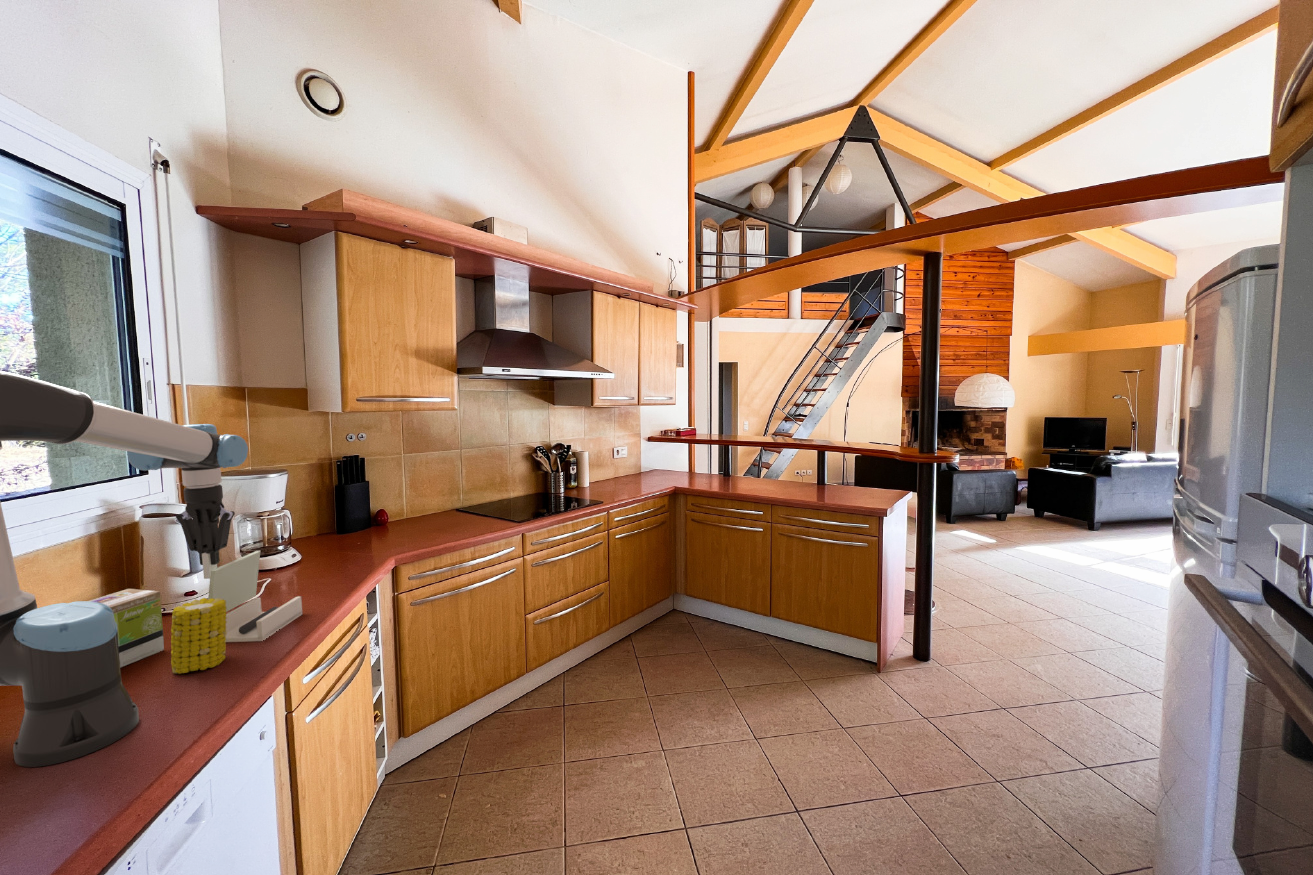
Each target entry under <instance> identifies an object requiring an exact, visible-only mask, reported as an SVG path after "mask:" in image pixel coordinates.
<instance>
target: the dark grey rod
mask: <svg viewBox="0 0 1313 875" xmlns="http://www.w3.org/2000/svg"><path fill="white" fill-rule="evenodd" d="M277 608H279V607H278V606H273V607H272V608H269V609H268V610H266V611H263V612H264V613H263V614H261V615H259V616H258V617H256V618H255V619H253V620H251V621H250V622H248V623H246V624H245V625H243V626H241V627H240V628H239V632H240V633H241V634H245V633H247V632H249V631H250V630H252V629H253V628H255V627H257V624H256V621H258V620H259V619H261V618H263V617H264V616H266V615H267V614H269V613H271V612H272V611H274V610H276V609H277Z"/></svg>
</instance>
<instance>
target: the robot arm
mask: <svg viewBox="0 0 1313 875" xmlns="http://www.w3.org/2000/svg"><path fill="white" fill-rule="evenodd" d="M93 400H94V399H92V398H91V397H90V395H88V394H87V393H85V392H81V391H79V390H75V389H72V388H68V387H65V386H60V385H57V384H54V383H50V382H48V381H44V380H40V379H36V378H32V377H28V376H26V375H25V376H24V375H21V374H18V373H13V372H12V373H11V372H7V371H2V370H0V451H1V450H2V449H3V443H2V442H6V441H7V442H8V441H9V442H10V441H11V442H12V441H13V442H17V441H18V442H19V441H20V442H21V441H23V442H24V441H25V442H26V441H30V442H44V443H52V444H56V445H67V444H72V443H74V442H79V443H83V444H89V445H94V446H100V447H104V448H105V447H106V448H110V449H115V450H121V451H125V452H126V455H127V456H126V457H127V460H128V462H129V464H130V465H132V466H133V468H134V469H137V470H140V471H158V470H161V469H181V477H182V478H181V480H182V481H181V482H182V486H184V489H183V499H184V502H185V503H186V506H185V510H183V511H182V512H181V513H178V514H176V515H175V519H176V520H177V521H178V522H179V523H180V526H181V529H182V532H183V534H184V537H185V540H186V543H187V546H188V549H189V551H192V552H194V551H195V552H197V553H198V556H199V557H198V558H199V564H200V566H202V571H203V573H202V574H203V580H207V579H209V580H210V575H211V570H213V569H216V568H218V564H220V561H221V560H220V550H222V549H224V548H226V547H227V546H228V542H229V541H228V540H229V535H230V530H231V529H230V528H231V525H232V524H231V523H232V519H233V518H234V517H235V514H236V513H235V511H234V510H228V509H226V508H225V505H224V504H223V501H222V500H223V498H224V491H223V485H221V483H222V472H221V468H223V469H227V468H236V467H239V466H241V465H242V464H244V463H245V461H246V460H247V458H248V452H249V447H248V443H247V442H246V440H245V439H244V438H243V437H242V436H240V435H238V434H229V433H226V434H219V433H218V432H217V431H218V430H217V427H216V425H215V424H211V423H210V424H209V423H203V424H202V423H196V424H195V423H194V424H183V425H181V424H179V423H175V422H170V421H167V420H164V419H160V418H156V417H153V416H149V415H146V414H141V413H137V412H133V411H131V410H127V409H122V408H119V407H115V406H112V405H108V404H104V403H101V402H97V401H93ZM11 547H12V546H11V542H10V539H9V535H8V530H7V525H6V522H5V517H4V512H3V508H2V502H1V501H0V686H8V687H9V686H15V687H16V686H21V689H22V697H23V698H22V699H23V704H24V713H23V717H22V719H21V723H20V728H19V732H18V737H17V738H16V740H14V744H13V746H12V747H13V749H12V752H13V758H14V760H13V761H14V763H15V764H16V765H18V766H20V767H26V768H27V767H28V768H34V767H36V768H37V767H45V766H50V765H51V766H52V765H56V764H61V763H65V762H67V761H71V760H75V759H78V758H80V757H83V756H86V755H88V754H91V753H93V752H94V753H95V752H96V751H99V750H101V749H103V748H105V747H108V746H110V745H111V744H114V743H115V742H117V741H119V740H120V739H121V738H124V737H125V736H126V735H128V734H129V733H130V732H131V731H133V730H135V728H136V727H137V725H138V724H139V722H140V716H139V715H140V714H139V708H138V705H137V704H136V703H135V702H133V699H132V697H131V695H130V694H129V692H128V691H127V688H126V686H124V684H123V682H122V681H123V680H122V673H121V668H120V659H119V647H118V634H117V624H116V622H115V619H114V614H113V611H112V609H111V608H110V607H109V606H107V605H105V604H102V603H98V602H90V601H89V600H85V601H84V600H80V601H79V600H77V601H76V600H75V601H72V602H67V603H66V602H60V603H54V604H49V605H46V606H41V607H38V604H37V600H36V596H35V594H33V593H31V592H28V591H24V590H22V589H21V587H20V584H19V580H18V575H17V569H16V566H15V560H14V557H13V553H12V548H11Z"/></svg>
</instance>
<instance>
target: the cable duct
mask: <svg viewBox="0 0 1313 875" xmlns="http://www.w3.org/2000/svg"><path fill="white" fill-rule="evenodd" d="M264 612H265V611H263V610H262V599H261V597H254V598H252V599H250V600H248V601H246V603H243V604H241V605H239V607H238V606H237V607H235V609H232V610H230V611H228V612H226V617H227V618H226V632H227V635H225V636H226V641H225V643H238V642H239V643H240V642H241V643H243V642H244V643H245V642H246V643H247V642H264V641H265V640H266V638H267V639H268V638H269V636H270V637H271V636H272V635H274V634H275V633H277V632H278V631H280V630H282V629H283V628H285V627H286V626H287V625H288V624H290V623H292V622H293V621H294V620H296V619H298V618H299V617H301V616H302V615H303V602H302V596H295V597H293V598H292V599H290V600H289V601H287V602H285V603H284V604H282V605H281V606H279V607H278V608H277V609H276V610H274V611H272V612H271V613H269V614H267V615H266V616H264V617H263V618H261V619H259V620H258V621H256V624H257V627H255V628H253V629H252V630H250V631H249V632H247V633H245V634H241V633H240V632H239V628H240V627H241V626H243V625H245V624H246V623H248V622H250V621H251V620H253V619H255V618H256V617H258V616H259V615H261V614H263V613H264ZM279 629H280V630H279ZM276 631H277V632H276ZM263 640H264V641H263Z"/></svg>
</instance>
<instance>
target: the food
mask: <svg viewBox="0 0 1313 875" xmlns="http://www.w3.org/2000/svg"><path fill="white" fill-rule="evenodd" d="M225 605H226V601H225V600H223V599H222V600H221V599H220V598H218V599H216V600H215V599H213V598H211V599H209V600H208V598H206V597H203V598H200V599H193V600H192V601H191V602H185V603H182V605H178V606H175V607H174V608H173V610H172V611H171V614H172V615H171V626H170V628H171V629H170V633H171V636H170V637H171V640H170V643H171V646H170V649H171V651H170V654H171V658H170V659H171V660H170V664H171V670H172V671H171V672H172V674H178V675H180V674H185V673H186V674H187V673H190V672H194V671H198V670H200V671H204V670H205V671H206V670H207V669H208V668H210V669H213V668H215V667H216V666H219V665H220V664H221V663H222V662H223V661H225V659H226V653H227V652H226V650H227V647H226V646H227V644H226V643H227V642H225V641H226V636H225V635H227V632H226V618H227V617H226V614H227V612H226V609H227V608H226V606H225Z"/></svg>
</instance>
